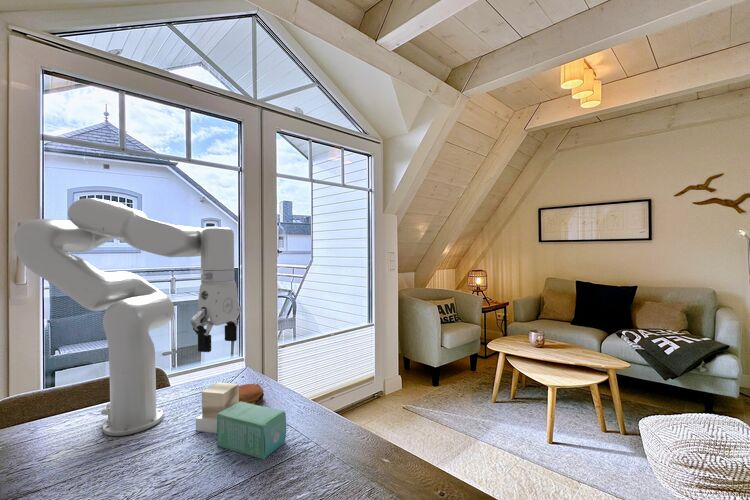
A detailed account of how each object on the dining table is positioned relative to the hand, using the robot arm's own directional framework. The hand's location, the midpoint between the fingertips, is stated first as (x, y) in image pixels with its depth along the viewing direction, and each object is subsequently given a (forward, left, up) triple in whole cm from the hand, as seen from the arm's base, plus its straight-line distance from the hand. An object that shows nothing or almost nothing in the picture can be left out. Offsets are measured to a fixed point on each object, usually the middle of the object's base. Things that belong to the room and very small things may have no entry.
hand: (218, 345), depth 87 cm
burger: (-1, +12, -20) cm, 23 cm away
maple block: (0, 0, -16) cm, 16 cm away
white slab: (0, 0, -19) cm, 19 cm away
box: (+13, -7, -20) cm, 25 cm away
